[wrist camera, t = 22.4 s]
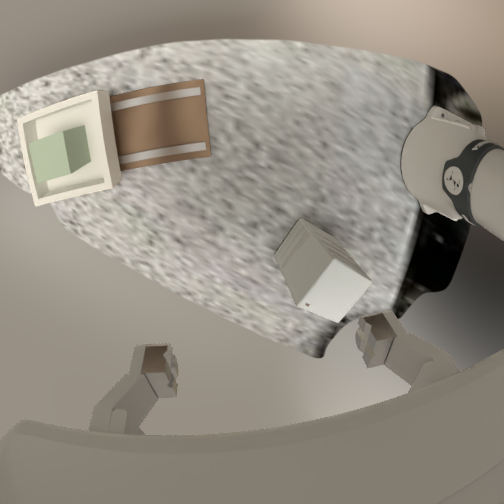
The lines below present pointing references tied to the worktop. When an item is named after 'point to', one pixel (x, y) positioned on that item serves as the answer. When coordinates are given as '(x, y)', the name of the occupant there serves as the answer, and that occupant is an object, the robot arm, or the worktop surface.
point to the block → (60, 154)
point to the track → (160, 124)
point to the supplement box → (320, 272)
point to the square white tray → (99, 142)
